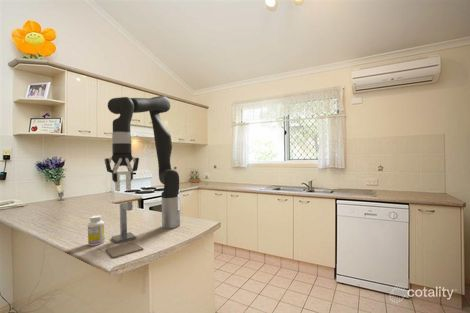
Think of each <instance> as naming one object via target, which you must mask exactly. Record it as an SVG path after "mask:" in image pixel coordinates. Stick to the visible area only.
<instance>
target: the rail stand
mask: <svg viewBox="0 0 470 313" xmlns="http://www.w3.org/2000/svg"><path fill="white" fill-rule="evenodd" d="M127 211H133V200H130V201H127V202H124V201H123V202H120V203H119V229H120V233H119V234H116V235H112V236H111V237H110V239H111V240H112V241H113V242H114V243H115V244H121V243H126V242H130V241H134V240H136V239H137V236H136V235H135V234H134V233H133V232H132V231H131V232H130V231H129V232H128V225H127V224H128V223H127V222H128V217H127Z"/></svg>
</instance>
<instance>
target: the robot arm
mask: <svg viewBox="0 0 470 313" xmlns="http://www.w3.org/2000/svg"><path fill="white" fill-rule="evenodd" d="M107 109H108V110H109V112H110V113H111V114H113V115H119V117H117V118H115V119H113V121H112V136H111V141H112V142H111V143H112V146H111V148H112V151H111V152H112V156H111V157H109V158H104V159H103V160H104V164H105V169H106V172H107V173H110V174H111V177H112V181H113V182H114V183H115V182H117V174H116V172H118V169H119V167H126V169H127V170H128V171H131V182H132V180H134V172H137V171H138V167H139V161H140V158H139V157H133V154H132V151H133V150H132V135H131V122H132V119H133V116H134V115H133V114H136V113H139V114H140V113H146V112H148V113H149V116H150V120H151V125H152V130H153V136H154V137H153V138H154V144H155V152H156V158H157V164H158V179H159V181H160V183H161V184H162V185H163V191H161V194H160V195H161V225H162V226H161V228H162V229H166V230H167V229H174V228H178V227H180V226H181V212H180V210H181V209H180V208H179V192H180V176H179V175H180V174H179V173H178V171H177V170H175V169H172V165H171V155H172V150H173V144H172V135H171V133H170V131H169V130H168V129H167V128H166V126H165V125H164V124H163V123H162V120H161V117H160V116H161V115H160V114H163V113H167V112H169V111H170V109H171V102H170V100H169V98H168V97H167V96H164V95H158V96H154V97H150V98H145V97H129V96H122V97H114V98H111V99H109V100H108V102H107ZM112 162H113V163H114V164H113V168H112V167H111V163H112ZM131 162H133V164H131ZM132 165H133V167H132Z"/></svg>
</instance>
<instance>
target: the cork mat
mask: <svg viewBox="0 0 470 313" xmlns="http://www.w3.org/2000/svg"><path fill="white" fill-rule="evenodd" d="M140 250H141V251H144V248H143V247H142V246H141V245H140V244H138V243H137V242H136V241H135V240H132V241H128V242H124V243H122V244H121V243H120V244H118V245H114V246H110V247H106V248H105V251H106V252H107V253H108V255H109V256H110V257H111V258H112V259H116V258H119V257H123V256H127V255H130V254H133V253H136V252H139V251H140ZM126 254H127V255H126Z"/></svg>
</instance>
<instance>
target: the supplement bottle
mask: <svg viewBox="0 0 470 313" xmlns="http://www.w3.org/2000/svg"><path fill="white" fill-rule="evenodd" d="M87 241H88V242H87V243H88V246H93V247H94V246H99V245H102V244H104V243H105V221H104V220H102V215H100V214H99V215H97V214H96V215H92V216H90V217H89V222H88V223H87Z"/></svg>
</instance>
